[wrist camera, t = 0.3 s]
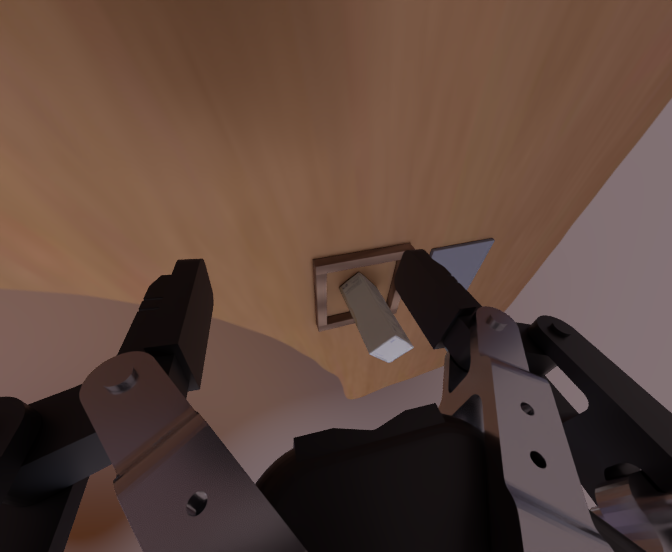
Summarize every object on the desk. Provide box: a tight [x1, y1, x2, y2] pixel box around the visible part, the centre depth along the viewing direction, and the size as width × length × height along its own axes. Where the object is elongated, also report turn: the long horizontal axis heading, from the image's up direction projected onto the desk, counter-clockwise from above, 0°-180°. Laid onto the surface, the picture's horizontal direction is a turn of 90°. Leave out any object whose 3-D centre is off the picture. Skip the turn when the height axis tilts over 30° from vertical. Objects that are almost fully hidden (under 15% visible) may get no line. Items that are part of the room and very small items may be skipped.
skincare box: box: [339, 272, 413, 363], centre depth 36 cm, size 6×4×12 cm
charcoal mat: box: [430, 238, 495, 290], centre depth 45 cm, size 13×12×1 cm
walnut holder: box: [313, 243, 415, 332], centre depth 40 cm, size 15×15×2 cm
